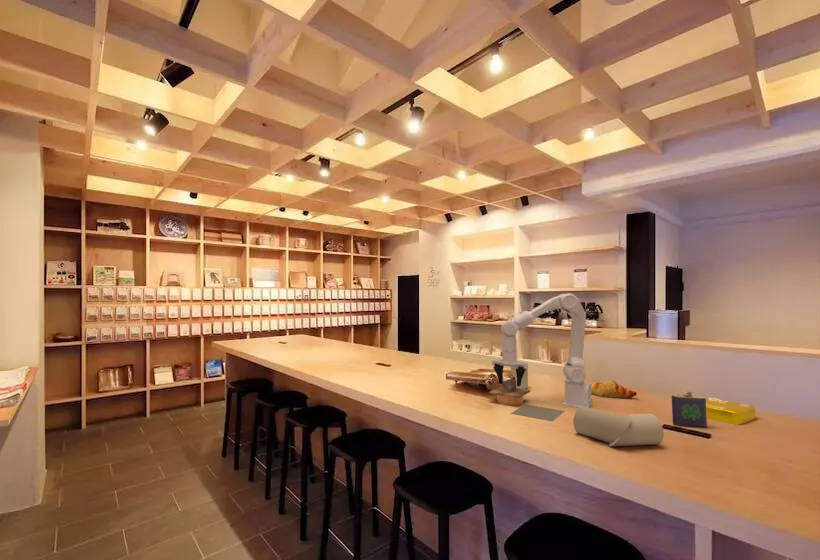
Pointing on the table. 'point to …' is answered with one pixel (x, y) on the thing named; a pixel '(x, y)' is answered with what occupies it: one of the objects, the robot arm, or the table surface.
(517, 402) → the bowl
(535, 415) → the mat
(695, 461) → the table surface
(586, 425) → the bent grey cylinder
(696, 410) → the flask
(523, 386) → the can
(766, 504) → the table surface
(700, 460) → the table surface
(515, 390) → the lid
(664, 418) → the table surface
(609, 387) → the croissant
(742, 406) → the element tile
